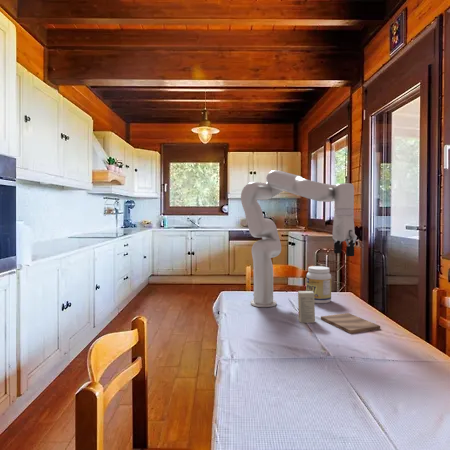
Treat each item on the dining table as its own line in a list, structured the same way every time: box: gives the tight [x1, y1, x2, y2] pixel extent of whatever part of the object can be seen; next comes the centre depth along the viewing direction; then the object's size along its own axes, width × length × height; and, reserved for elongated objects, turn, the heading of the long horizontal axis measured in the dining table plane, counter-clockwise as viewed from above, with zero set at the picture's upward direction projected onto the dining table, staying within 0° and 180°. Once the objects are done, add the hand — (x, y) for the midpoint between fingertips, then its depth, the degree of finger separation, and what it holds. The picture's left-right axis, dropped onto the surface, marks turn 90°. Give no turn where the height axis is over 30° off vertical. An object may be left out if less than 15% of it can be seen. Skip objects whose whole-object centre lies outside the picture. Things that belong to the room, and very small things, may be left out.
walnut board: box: [320, 312, 381, 335], centre depth 134 cm, size 18×14×1 cm
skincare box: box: [297, 290, 316, 324], centre depth 138 cm, size 6×4×12 cm
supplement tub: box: [305, 265, 332, 304], centre depth 170 cm, size 12×12×17 cm
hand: (343, 254), depth 139 cm, fingers open, 9 cm apart
